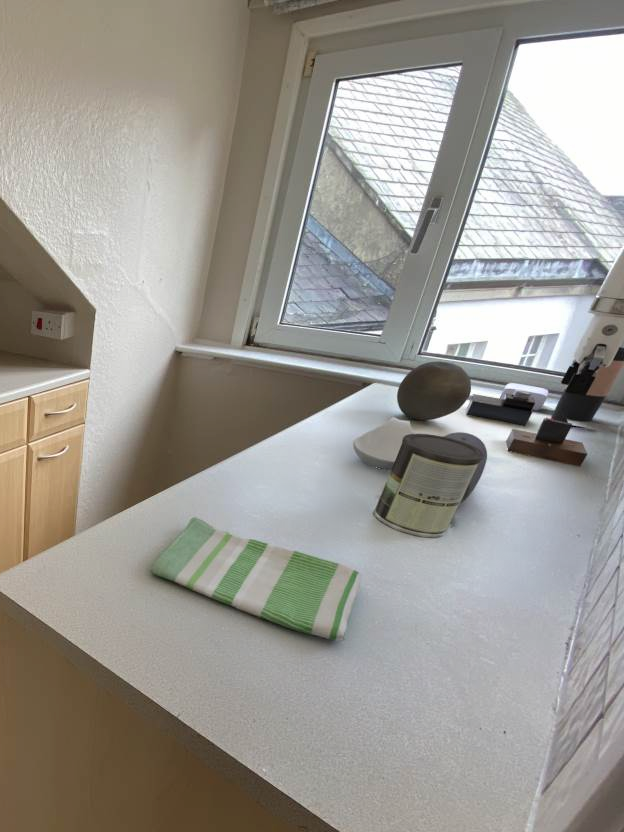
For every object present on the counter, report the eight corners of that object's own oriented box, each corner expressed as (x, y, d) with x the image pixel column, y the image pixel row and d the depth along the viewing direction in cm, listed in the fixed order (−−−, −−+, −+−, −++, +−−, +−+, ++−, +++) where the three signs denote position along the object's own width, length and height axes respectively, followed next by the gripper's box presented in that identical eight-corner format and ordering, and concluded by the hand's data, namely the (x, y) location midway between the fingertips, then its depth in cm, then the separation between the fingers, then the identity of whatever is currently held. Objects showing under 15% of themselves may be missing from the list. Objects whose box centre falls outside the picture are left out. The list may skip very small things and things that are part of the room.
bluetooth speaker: (419, 469, 113) (439, 423, 108) (476, 484, 107) (499, 437, 103) (393, 503, 98) (415, 453, 94) (458, 524, 93) (484, 470, 88)
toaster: (523, 418, 146) (534, 396, 144) (525, 426, 140) (536, 404, 137) (466, 407, 153) (476, 386, 150) (466, 415, 147) (475, 393, 144)
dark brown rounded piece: (385, 419, 141) (407, 362, 134) (392, 407, 151) (413, 353, 144) (453, 434, 133) (480, 373, 126) (456, 420, 142) (481, 363, 136)
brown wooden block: (575, 454, 124) (582, 441, 122) (580, 466, 117) (588, 453, 116) (506, 440, 130) (512, 428, 129) (507, 451, 124) (514, 438, 123)
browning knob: (561, 442, 122) (572, 422, 120) (562, 444, 121) (573, 424, 119) (534, 436, 124) (544, 417, 122) (534, 438, 123) (545, 418, 121)
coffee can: (358, 508, 96) (388, 434, 90) (408, 505, 98) (440, 432, 92) (408, 540, 87) (445, 459, 81) (462, 536, 89) (502, 457, 83)
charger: (543, 401, 162) (539, 411, 152) (502, 393, 167) (497, 403, 158) (551, 385, 160) (548, 395, 150) (509, 378, 165) (504, 387, 156)
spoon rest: (411, 483, 107) (426, 449, 103) (343, 465, 113) (354, 433, 110) (421, 449, 123) (434, 419, 120) (361, 435, 130) (372, 406, 126)
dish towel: (191, 525, 89) (195, 511, 87) (358, 584, 76) (365, 567, 75) (147, 576, 76) (151, 559, 75) (339, 655, 63) (347, 637, 62)
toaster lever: (526, 399, 142) (530, 391, 142) (526, 401, 140) (530, 394, 140) (512, 396, 144) (515, 389, 143) (512, 399, 142) (516, 391, 141)
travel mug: (543, 416, 148) (582, 342, 139) (580, 421, 145) (622, 346, 136) (555, 425, 142) (596, 348, 133) (594, 430, 139) (639, 352, 130)
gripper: (652, 315, 103) (602, 402, 110) (635, 306, 115) (591, 385, 122) (597, 309, 107) (552, 393, 115) (586, 301, 119) (546, 378, 127)
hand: (572, 389), depth 119 cm, fingers open, 9 cm apart
